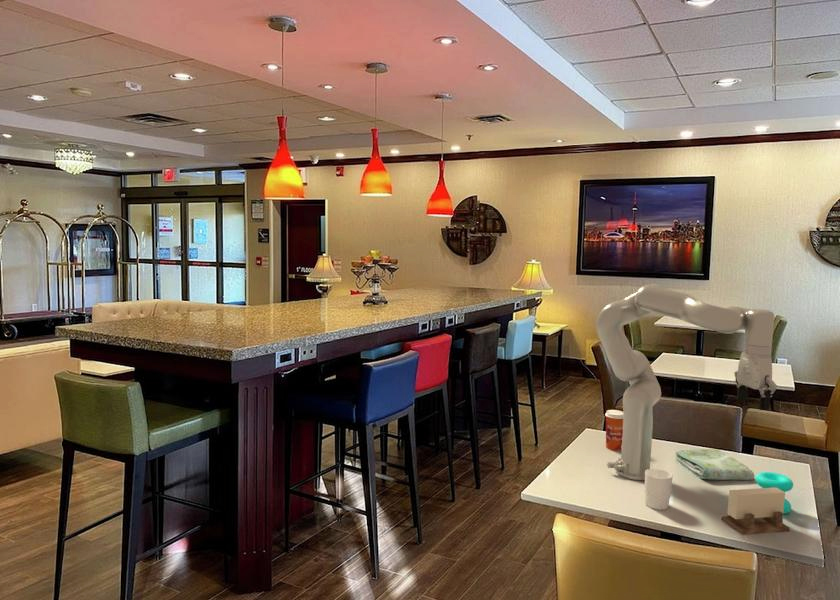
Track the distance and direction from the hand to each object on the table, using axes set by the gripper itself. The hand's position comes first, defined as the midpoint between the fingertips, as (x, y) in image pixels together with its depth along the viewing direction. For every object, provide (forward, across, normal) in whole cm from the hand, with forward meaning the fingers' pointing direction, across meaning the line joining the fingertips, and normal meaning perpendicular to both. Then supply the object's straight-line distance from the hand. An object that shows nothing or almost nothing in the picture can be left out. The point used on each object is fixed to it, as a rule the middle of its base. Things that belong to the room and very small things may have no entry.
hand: (752, 405), depth 194 cm
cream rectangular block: (+27, +16, -9) cm, 33 cm away
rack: (+30, +16, -9) cm, 35 cm away
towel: (+31, -24, +5) cm, 39 cm away
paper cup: (+31, -49, -19) cm, 61 cm away
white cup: (+31, 0, -30) cm, 43 cm away
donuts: (+31, +7, +4) cm, 32 cm away
